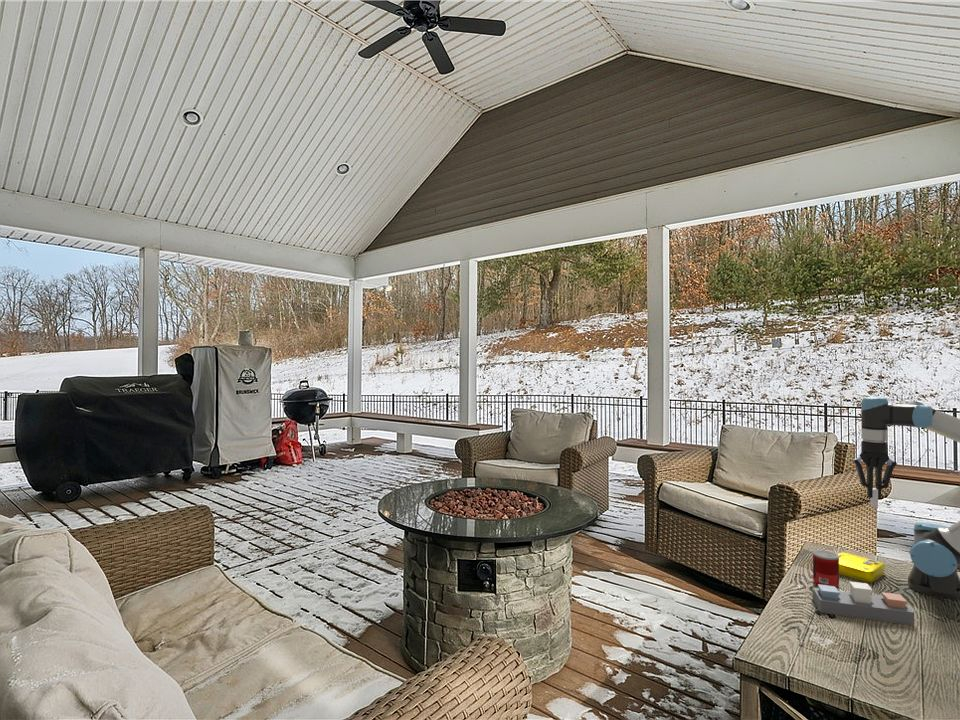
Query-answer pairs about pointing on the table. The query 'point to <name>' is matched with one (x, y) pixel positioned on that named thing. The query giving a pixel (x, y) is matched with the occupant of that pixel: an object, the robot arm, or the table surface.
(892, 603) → the terracotta key
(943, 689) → the table surface
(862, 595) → the white key
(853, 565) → the element tile
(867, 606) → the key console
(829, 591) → the slate blue key
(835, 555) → the canned food
